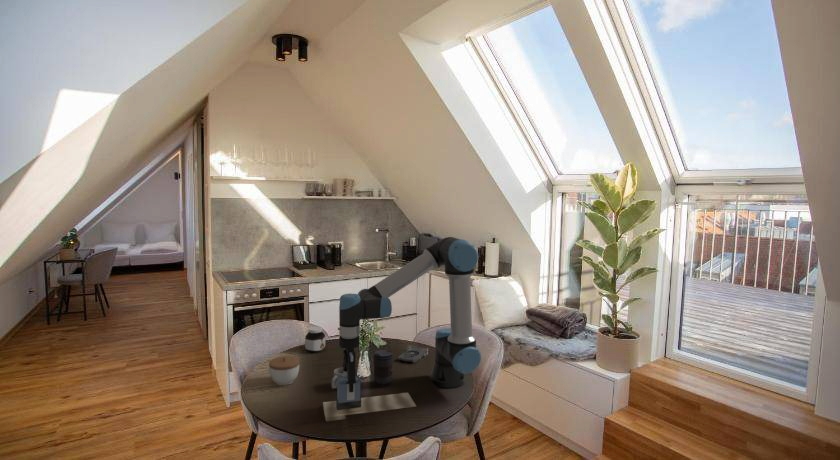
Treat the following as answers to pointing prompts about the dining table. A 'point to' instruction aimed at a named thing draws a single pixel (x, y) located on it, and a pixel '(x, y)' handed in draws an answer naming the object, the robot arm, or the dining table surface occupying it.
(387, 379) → the camera lens
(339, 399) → the block
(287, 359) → the lidded bowl
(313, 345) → the spread jar
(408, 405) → the board
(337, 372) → the mug
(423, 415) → the dining table surface
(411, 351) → the graphics card
